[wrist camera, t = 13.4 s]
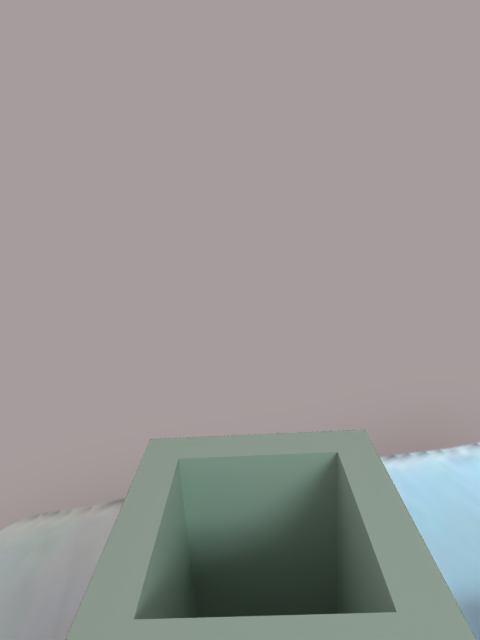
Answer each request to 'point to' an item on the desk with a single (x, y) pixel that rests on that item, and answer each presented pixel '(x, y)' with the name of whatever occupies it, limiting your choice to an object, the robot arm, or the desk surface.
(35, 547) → the desk surface
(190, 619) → the sleeve
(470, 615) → the desk surface
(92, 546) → the desk surface
